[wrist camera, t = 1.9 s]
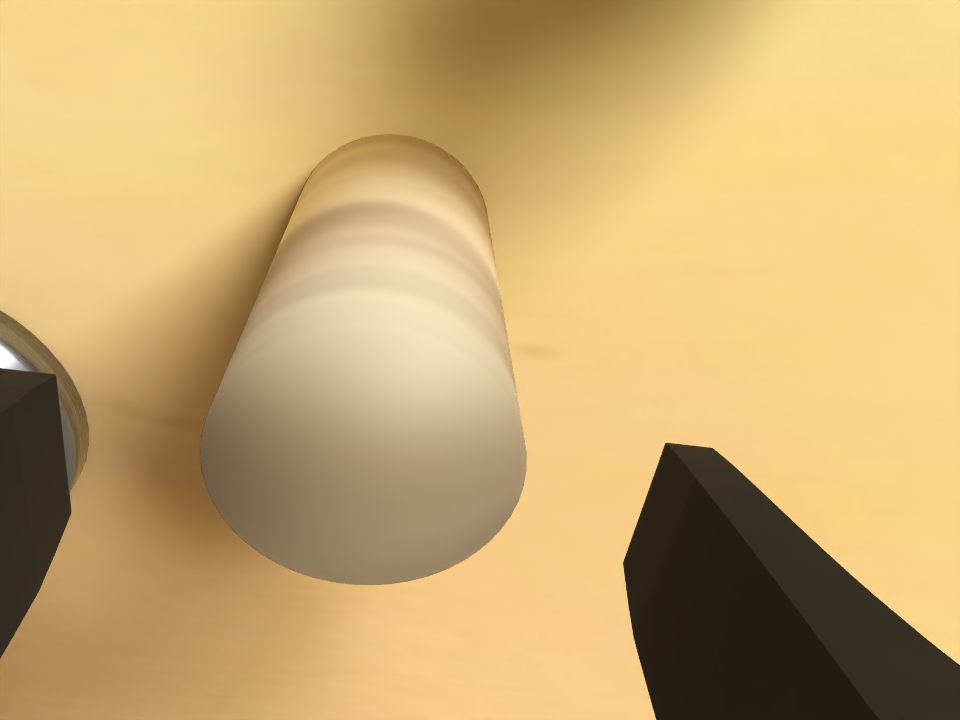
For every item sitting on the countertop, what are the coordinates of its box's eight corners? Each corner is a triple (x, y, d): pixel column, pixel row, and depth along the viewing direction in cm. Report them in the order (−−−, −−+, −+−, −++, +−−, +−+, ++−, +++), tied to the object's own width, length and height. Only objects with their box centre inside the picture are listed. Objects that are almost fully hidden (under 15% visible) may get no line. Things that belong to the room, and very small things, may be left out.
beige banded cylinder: (472, 325, 18) (495, 596, 11) (291, 302, 18) (200, 571, 11) (504, 150, 16) (557, 351, 9) (302, 119, 16) (199, 305, 9)
